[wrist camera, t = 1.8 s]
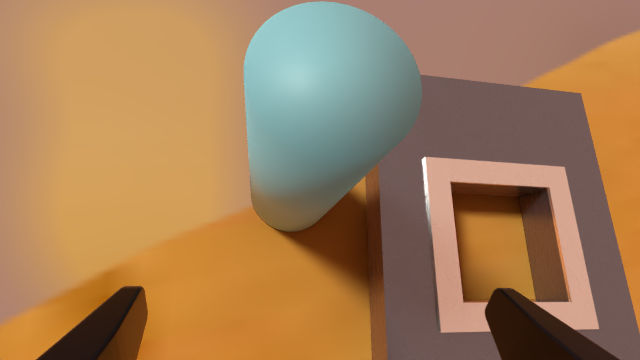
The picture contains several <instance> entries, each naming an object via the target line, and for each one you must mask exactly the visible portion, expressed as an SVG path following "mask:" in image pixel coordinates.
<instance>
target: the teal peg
mask: <svg viewBox="0 0 640 360" xmlns="http://www.w3.org/2000/svg"><path fill="white" fill-rule="evenodd" d="M244 89H245V105H246V122H247V136H248V137H247V138H248V154H249V171H250V187H251V199H252V203H253V207H254V209H255V211H256V213H257V214H258V216H259V217H260V218H261V219H262V220H263V221H264V222H265V223H266V224H268V225H269V226H271V227H273V228H275V229H277V230H281V231H286V232H296V231H301V230H304V229H307V228H309V227H311V226H312V225H314V224H315V223H316V222H318V221H319V220H320V219H321V218H322V217H323V216H324V215H325V214H326V213H327V212H328V211H329V210H330V209H331V208H332V207H333V206H334V205H335V204H336V203H337V202H338V201H339V200H340V199H342V198H343V197H344V196H345V195H346V194H347V193H348V192H349V191H350V190H351V189H352V188H353V187H354V186H355V185H356V184H357V183H358V182H359V181H360V180H361V179H362V178H363V177H364V176H365V175H366V174H368V173H369V172H370V171H371V170H372V169H373V168H374V167H375V166H376V165H377V164H378V163H379V162H380V161H381V160H382V159H383V158H384V157H385V156H386V155H387V154H388V153H389V152H390V151H391V150H392V149H394V148H395V147H396V146H397V145H398V144H399V143H400V142H401V141H402V140H403V139H404V138H405V136H406V135H407V134H408V133H409V132H410V130H411V128H412V127H413V125H414V124H415V121H416V119H417V117H418V114H419V111H420V107H421V100H422V84H421V77H420V73H419V70H418V67H417V64H416V62H415V59H414V57H413V55H412V54H411V52H410V50H409V49H408V47H407V46H406V44H405V43H404V42H403V40H402V39H401V38H400V37H399V36H398V35H397V34H396V33H395V32H394V31H393V30H392V29H391V28H390V27H389V26H388V25H387V24H385V23H384V22H382V21H381V20H379V19H378V18H377V17H374V16H373V15H371V14H369V13H367V12H365V11H363V10H361V9H358V8H355V7H352V6H349V5H345V4H340V3H334V2H310V3H303V4H299V5H295V6H292V7H289V8H287V9H284V10H282V11H281V12H279V13H277V14H275V15H274V16H272V17H271V18H270V19H268V20H267V21H266V22H265V23H264V24H263V25H262V26H261V27H260V28H259V29H258V31H257V32H256V34H255V35H254V36H253V38H252V40H251V42H250V44H249V46H248V49H247V52H246V55H245V62H244Z"/></svg>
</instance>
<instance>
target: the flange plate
mask: <svg viewBox="0 0 640 360" xmlns="http://www.w3.org/2000/svg"><path fill="white" fill-rule="evenodd" d="M420 77H421V84H422V100H421V107H420V111H419V114H418V117H417V119H416V121H415V124H414V125H413V127H412V128H411V130H410V132H409V133H408V134H407V135H406V136H405V138H404V139H403V140H402V141H401V142H400V143H399V144H398V145H397V146H396V147H395V148H394V149H392V150H391V151H390V152H389V153H388V154H387V155H386V156H385V157H384V158H383V159H382V160H381V161H380V162H379V163H378V164H377V165H376V166H375V167H374V168H373V169H372V170H371V171H370V172H369V173H368V174H366V200H367V228H368V256H369V285H370V313H371V341H372V360H501V357H500V355H499V352H498V349H497V347H496V344H495V341H494V339H493V336H492V334H491V331H490V328H489V326H488V323H487V320H486V318H485V307H486V305H487V303H488V302H489V300H463V294H462V285H461V276H460V267H459V258H458V249H457V239H456V230H455V221H454V212H453V203H452V194H471V195H490V196H508V197H519V201H520V207H521V213H522V219H523V225H524V231H525V237H526V243H527V249H528V255H529V260H530V266H531V272H532V278H533V284H534V290H535V296H536V300H531V301H532V302H534V303H535V304H537V305H538V306H540V307H541V308H543V309H544V310H546V311H547V312H549V313H550V314H552V315H553V316H555V317H556V318H558V319H559V320H561V321H562V322H564V323H565V324H567V325H568V326H570V327H571V328H573V329H574V330H576V331H578V332H579V333H581V334H582V335H584V336H585V337H587V338H588V339H590V340H591V341H593V342H594V343H596V344H597V345H599V346H600V347H602V348H603V349H605V350H606V351H608V352H609V353H611V354H612V355H614V356H615V357H617V358H618V359H620V360H640V334H639V330H638V326H637V321H636V317H635V313H634V309H633V305H632V301H631V297H630V293H629V289H628V285H627V280H626V276H625V272H624V268H623V264H622V260H621V256H620V252H619V248H618V244H617V240H616V235H615V231H614V227H613V223H612V219H611V215H610V211H609V207H608V203H607V199H606V194H605V190H604V186H603V182H602V178H601V174H600V170H599V166H598V162H597V158H596V154H595V149H594V145H593V141H592V137H591V133H590V129H589V125H588V121H587V117H586V113H585V109H584V104H583V100H582V96H581V93H573V92H564V91H555V90H547V89H538V88H529V87H521V86H511V85H503V84H495V83H486V82H477V81H469V80H460V79H452V78H443V77H434V76H425V75H420ZM451 193H452V194H451Z"/></svg>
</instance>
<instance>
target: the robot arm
mask: <svg viewBox="0 0 640 360" xmlns="http://www.w3.org/2000/svg"><path fill="white" fill-rule="evenodd" d="M147 315H148V310H147V303H146V297H145V291H144V288H143V287H141V286H124V287H122V288H120V289H119V290H118V291H117V292H116V293H114V294H113V295H112V296H111V297H110V298H109V299H107V300H106V301H105V302H104V303H103V304H101V305H100V306H99V307H98V308H97V309H95V310H94V311H93V312H92V313H91V314H90V315H88V316H87V317H86V318H85V319H84V320H82V321H81V322H80V323H79V324H78V325H77V326H75V327H74V328H73V329H72V330H71V331H69V332H68V333H67V334H66V335H65V336H63V337H62V338H61V339H60V340H59V341H58V342H56V343H55V344H54V345H53V346H52V347H50V348H49V349H48V350H47V351H46V352H45V353H43V354H42V355H41V356H40V357H39V358H37V359H36V360H136V359H137V355H138V352H139V348H140V344H141V340H142V337H143V333H144V329H145V325H146V321H147ZM485 318H486V320H487V323H488V326H489V328H490V331H491V334H492V336H493V339H494V341H495V344H496V347H497V349H498V352H499V355H500V357H501V360H620V359H618V358H617V357H615V356H614V355H612V354H611V353H609V352H608V351H606V350H605V349H603V348H602V347H600V346H599V345H597V344H596V343H594V342H593V341H591V340H590V339H588V338H587V337H585V336H584V335H582V334H581V333H579V332H578V331H576V330H574V329H573V328H571V327H570V326H568V325H567V324H565V323H564V322H562V321H561V320H559V319H558V318H556V317H555V316H553V315H552V314H550V313H549V312H547V311H546V310H544V309H543V308H541V307H540V306H538V305H537V304H535V303H534V302H532V301H531V300H529V299H528V298H526V297H525V296H523V295H522V294H520V293H518V292H517V291H515V290H514V289H511V288H497V289H495V290H494V292H493V294H492V296H491V298H490V300H489V302H488V303H487V305H486V307H485Z"/></svg>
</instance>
